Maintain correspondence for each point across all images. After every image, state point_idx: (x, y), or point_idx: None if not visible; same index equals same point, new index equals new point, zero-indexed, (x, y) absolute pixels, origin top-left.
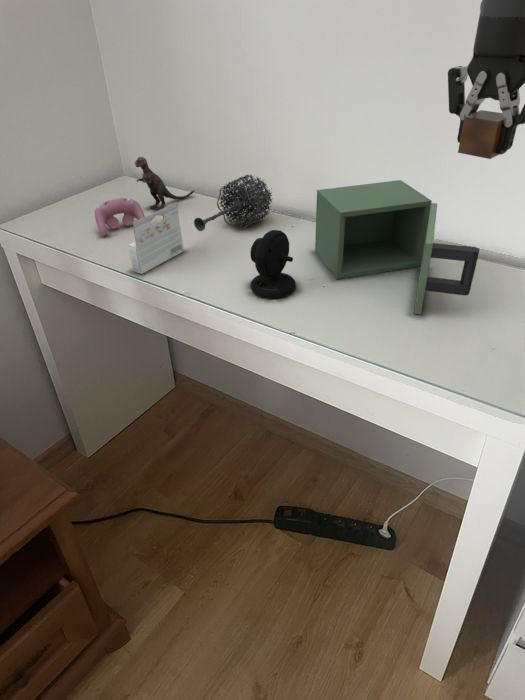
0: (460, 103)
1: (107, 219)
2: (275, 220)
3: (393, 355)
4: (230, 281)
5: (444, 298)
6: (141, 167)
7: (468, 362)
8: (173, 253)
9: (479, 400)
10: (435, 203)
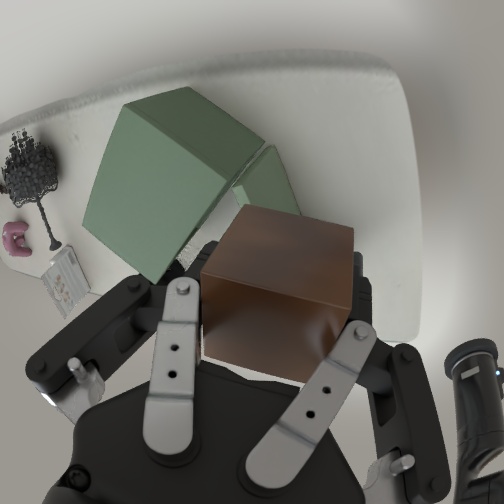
0: (136, 314)
1: (17, 245)
2: (56, 135)
3: None
4: (133, 274)
5: (329, 214)
6: None
7: (379, 309)
8: (74, 260)
9: (392, 341)
10: (239, 187)
